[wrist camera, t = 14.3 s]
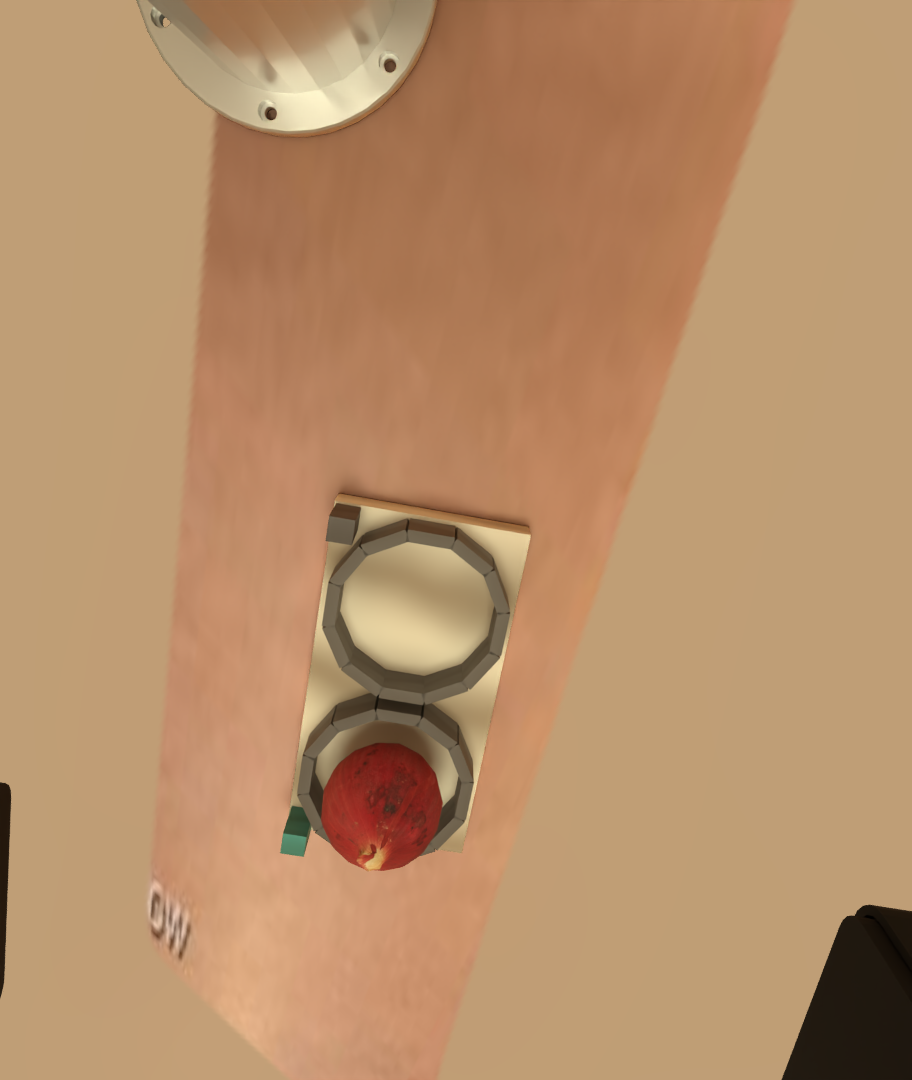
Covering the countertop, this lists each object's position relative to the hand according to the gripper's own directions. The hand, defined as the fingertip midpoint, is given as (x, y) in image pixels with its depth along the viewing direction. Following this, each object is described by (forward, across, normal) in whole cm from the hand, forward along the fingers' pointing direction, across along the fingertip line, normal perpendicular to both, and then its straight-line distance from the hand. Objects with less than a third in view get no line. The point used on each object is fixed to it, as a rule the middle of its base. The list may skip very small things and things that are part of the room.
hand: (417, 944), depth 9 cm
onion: (+32, 0, +18) cm, 36 cm away
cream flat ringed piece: (+33, 0, +13) cm, 36 cm away
